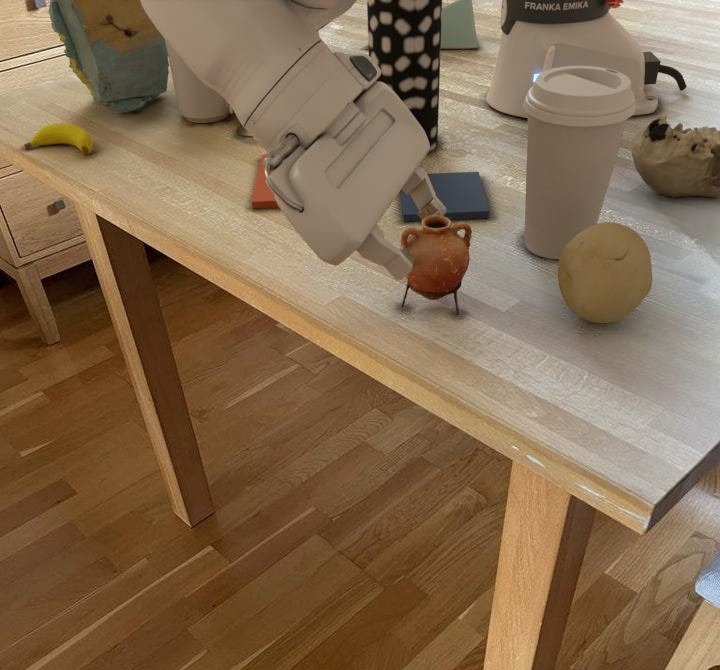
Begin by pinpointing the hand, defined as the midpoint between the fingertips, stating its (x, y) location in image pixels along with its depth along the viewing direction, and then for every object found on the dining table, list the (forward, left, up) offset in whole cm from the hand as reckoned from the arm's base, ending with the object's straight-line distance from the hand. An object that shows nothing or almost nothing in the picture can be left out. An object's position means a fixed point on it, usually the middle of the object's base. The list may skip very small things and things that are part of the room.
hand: (424, 244), depth 64 cm
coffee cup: (-14, -10, -6) cm, 18 cm away
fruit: (+43, -42, -4) cm, 60 cm away
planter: (-5, -76, -6) cm, 76 cm away
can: (+27, -50, -6) cm, 57 cm away
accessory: (+18, -44, -6) cm, 48 cm away
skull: (-30, -26, -6) cm, 40 cm away
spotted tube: (0, -37, -6) cm, 37 cm away
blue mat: (-3, -21, -6) cm, 22 cm away
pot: (-1, 0, -6) cm, 6 cm away
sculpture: (+40, -57, -6) cm, 69 cm away
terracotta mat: (+11, -27, -6) cm, 30 cm away
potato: (-15, +3, -6) cm, 16 cm away
